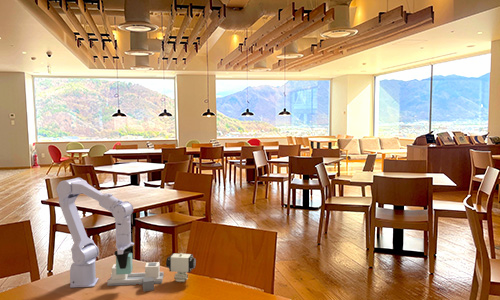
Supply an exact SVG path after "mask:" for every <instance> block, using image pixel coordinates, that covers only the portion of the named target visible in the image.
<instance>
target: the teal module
mask: <svg viewBox="0 0 500 300" xmlns="http://www.w3.org/2000/svg"><path fill="white" fill-rule="evenodd" d="M115 264H116V275H118V274H131V273H133V266H134V265H133V253H132V252H130V253H129V255H128V258H127V265H126V268H125V269H120V267H119V263H118V259H117V257H116V256H115Z"/></svg>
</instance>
